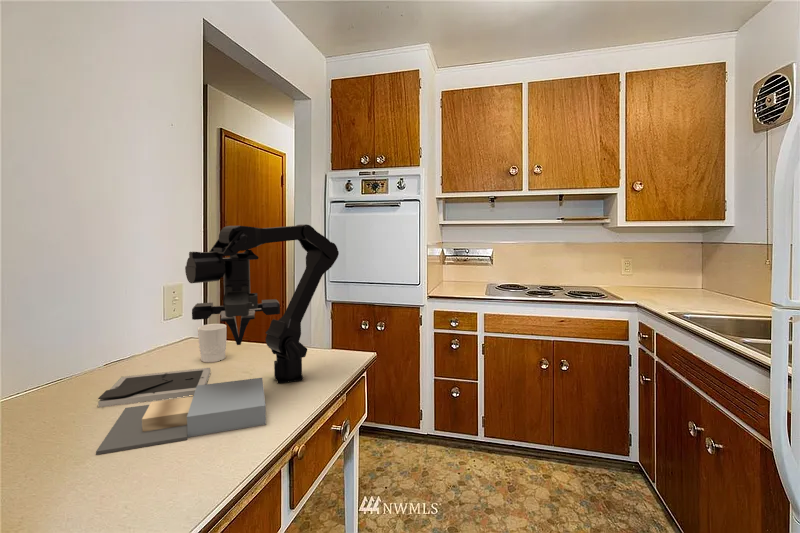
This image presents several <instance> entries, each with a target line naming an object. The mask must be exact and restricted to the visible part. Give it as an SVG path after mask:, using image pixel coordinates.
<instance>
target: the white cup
mask: <svg viewBox="0 0 800 533" xmlns="http://www.w3.org/2000/svg"><path fill="white" fill-rule="evenodd" d="M227 326H228V325H227V324H224V323H209V324H203V325H200V326H198V327H197V337H198V345H199V346H198V348H199V352H200V354H199V355H200V361H201V362H203V363H216V362H221V361H224V359H226V350H227ZM220 360H221V361H220Z"/></svg>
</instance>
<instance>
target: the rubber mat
mask: <svg viewBox="0 0 800 533" xmlns="http://www.w3.org/2000/svg"><path fill="white" fill-rule="evenodd" d="M149 405H150V404H144V405H136V406H135V405H134V406H129V407H125V408H124V410H122V413H120V415H119V417H118V418H117V419H116V421H115V423H114V424H113V426H112V427H111V429H110V430H109V432H108V433H107V435H106V436H105V437H104V439H103V440H102V441H101V443H100V445H99V446H98V448H97V449H96V450H95V456H98V455H104V454H109V453H110V454H111V453H115V452H116V453H117V452H121V451H123V452H124V451H128V450H134V449H139V448H146V447H152V446H158V444H159V445H164V443H165V444H169V443H170V442H171V443H177V442H181V441H187V440H188V438H189V437H188V431H187V425H183V426H177V427H170V428H164V429H157V430H151V431H144V432H143V431H142V418H143V416H144V414H145V413H146V411H147V409H148V407H149ZM171 443H170V444H171Z"/></svg>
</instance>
